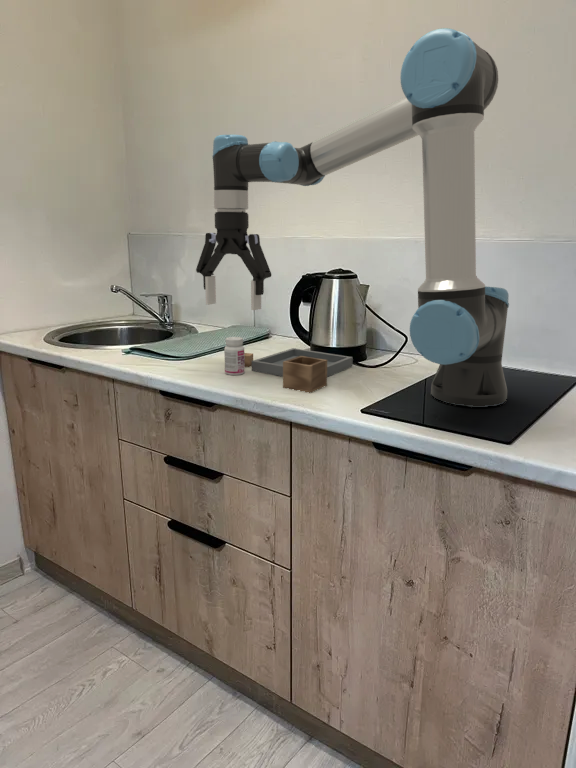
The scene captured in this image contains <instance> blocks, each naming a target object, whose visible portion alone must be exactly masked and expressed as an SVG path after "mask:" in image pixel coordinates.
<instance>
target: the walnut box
mask: <svg viewBox="0 0 576 768" xmlns="http://www.w3.org/2000/svg"><path fill="white" fill-rule="evenodd" d="M324 386H325V387H326V386H328V377H327V360H324V359H318V358H312V357H306V356H298V357H295V358H293V359H290V360H287V361H284V362H283V376H282V388H283V389H287V388H289V389H288V390H292V389H294V391H297V390H300V391H299V392H302V391H305V392H304V393H307V392H309V393H308V394H311V393H313V391H314V392H316V391H317V389H318V390H320V389H322V387H323V388H325V387H324ZM315 390H316V391H315ZM310 392H311V393H310Z"/></svg>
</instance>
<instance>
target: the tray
mask: <svg viewBox="0 0 576 768" xmlns="http://www.w3.org/2000/svg"><path fill="white" fill-rule="evenodd" d="M298 356H306V357H312V358H318V359H324V360H327V378H328V377H331V376H333V375H335V374H338V373H341V372H343V371H345V370H347V369H350V368H352V367H353V363H354V362H353V361H354V359H353V356H347V355H342V354H335V353H328V352H322V351H314V350H307V349H301V348H294V347H293V348H292V347H291V348H289V349H286V350H285V349H284V350H283V351H279V352H276V353H273V354H270V355H267V356H264V357H260V358H257V359H253V361H252V366H251V371H252V372H257V373H262V374H268V375H274V376H279V377H283V362H284V361H287V360H290V359H293V358H295V357H298Z"/></svg>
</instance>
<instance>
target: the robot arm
mask: <svg viewBox="0 0 576 768" xmlns="http://www.w3.org/2000/svg"><path fill="white" fill-rule="evenodd" d="M498 85H499V70H498V66H497V64H496V61H495V60H494V59H493V57H492V56H491V55H490V54H489V52H488V51H487V50H485V49H484V48H482V47H480V45H478V44H477V43H476V42H474V41H473V39H472V38H471V37H470V36H469V35H468V34H466V33H465V32H462V31H460V30H459V31H458V30H456V29H454V28H448V27H447V28H445V27H443V28H442V27H441V28H437V29H433V30H430V31H428V32H427V33H425V34H424V35H422V36H421V37H420V38H418V39H417V40H416V41H415V43H413V45H412V47H410V50H409V51H408V52H407V53H406V55H405V57H404V59H403V62H402V65H401V70H400V87H401V90H402V93H403V94H404V97H402V98H400V99H398V100H395V101H394V102H391V103H390V104H388V105H386V106H383V107H381V108H379V109H378V110H375V111H373V112H371V113H369V114H367V115H365V116H363V117H361V118H359V119H357V120H355V121H353V122H350V123H349V124H347V125H344V126H342V127H341V128H338V129H336V130H333V132H330V133H328V134H326V135H324V136H322V137H320V138H318V139H316V140H314V141H312V142H310V143H308V144H305V145H304V146H301V147H294V146H293V144H292V143H290V142H287V141H276V140H275V141H271V142H264V143H263V142H262V143H255V144H254V143H253V144H249V141H248V140H249V139H248V138H247V137H246V136H245V135H241V134H220V135H216V136H215V137H214V139H213V142H212V143H213V144H212V146H213V149H212V155H211V156H212V163H213V164H212V165H213V167H212V168H213V184H214V185H213V190H214V191H213V197H214V198H213V208H214V209H215V210H216V211H215V212H214V228H215V229H216V232H206V233H205V237H204V245H203V247H202V250H201V253H200V256H199V259H198V263H197V265H196V269H195V272H196V273H198V274H200V275H202V277H203V279H202V280H203V289H204V290H205V305H206V306H207V305H213V304H215V305H216V304H217V295H216V294H217V293H216V289H217V288H216V275H215V274H214V272H215V271H216V269H217V268H218V266H219V265H220V264H221V261H222V260H223V258H224V257H225V256H226V255H237V256H238V257H239V258H240V259H241V260H242V263H244V265H245V267H246V268H247V270H248V271H249V274H250V275H251V276H252V279H251V281H250V282H251V283H250V298H251V299H250V301H251V303H250V310H251V311H257V310H261V309H262V295H264V286H265V285H264V281H265V280H266V279H269V278H271V277H272V272H271V270H270V266H269V264H268V262H267V258H266V256H265V253H264V251H263V248H262V246H261V241H260V240H261V239H260V234H259V233H250V234H248V229H249V223H250V222H249V213H248V212H246V211H247V210H248V209H249V183H264V182H265V183H266V182H267V183H278V184H290V185H299V186H303V187H309V186H315V185H318V184H320V183H321V182H322V181H323V180H324V178H325V177H326V176H328V175H330V174H332V173H334V172H337V171H339V170H341V169H344V168H345V167H348V166H351V165H353V164H355V163H357V162H360V161H362V160H364V159H366V158H369V157H371V156H374V155H376V154H379V153H380V152H382V151H386V150H388V149H391V148H392V147H394V146H396V145H399V144H401V143H404V142H405V141H408V140H410V139H413V138H415V137H417V136H419V137H420V138H421V149H422V150H421V151H422V154H421V155H422V156H421V157H422V187H423V192H422V193H423V217H424V218H423V220H424V223H423V224H424V225H423V226H424V249H425V251H424V252H425V253H424V254H425V255H424V256H425V257H424V258H425V260H424V261H425V280H424V281H423V282H422V284H420V285H419V286H418V288H417V304H418V305H417V307H418V308H417V310H416V311H415V312H414V313H413V316H412V317H411V321H410V323H409V336H410V337H409V338H410V340H411V343H412V345H413V347H414V348H415V351H416V352H418V354H420V355H421V356H422V357H423V358H424V359H426V360H427V361H429V362H431V363H434V364H437V365H438V367H437V370H436V372H435V376H434V378H433V380H432V382H431V385H430V395H431V394H432V395H433V396H434V397H435V398H437V399H440V400H442V401H446V402H449V403H455V404H464V405H473V406H485V405H494V404H499V403H502V402H504V401H506V402H507V400H506V399H508V388H507V382H506V379H505V374H504V369H503V365H502V364H503V363H502V360H503V353H504V352H503V351H504V344H505V336H506V335H505V333H506V326H507V317H508V309H509V306H510V303H509V292H508V290H507V289H505V288H503V287H495V286H486V284H485V283H484V282H483V281H482V280H481V279H480V278H478V276H477V275H476V274H477V263H476V262H477V260H476V258H477V257H476V255H477V253H476V250H477V248H476V239H477V238H476V167H475V166H476V165H475V162H476V161H475V131H476V129H477V128H478V127H479V125H480V124H481V123H482V122H483V120H485V119H484V115H485V110H487V108H488V106H490V104H491V103H492V101H493V99H494V98H495V96H496V92H497V90H498ZM216 243H217V244H216ZM247 244H248V245H249V247H248V245H247ZM435 398H434V399H435Z"/></svg>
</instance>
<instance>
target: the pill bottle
mask: <svg viewBox="0 0 576 768" xmlns="http://www.w3.org/2000/svg"><path fill="white" fill-rule="evenodd" d="M243 339H244V338H242V337H241V336H230V337H225V347H224V349H223V350H224V373H225V374H226V375H228V376H229V375H230V376H239V375H243V374H245V370H246V369H245V368H246V367H245V354H244V353H245V347H244V340H243Z"/></svg>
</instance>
